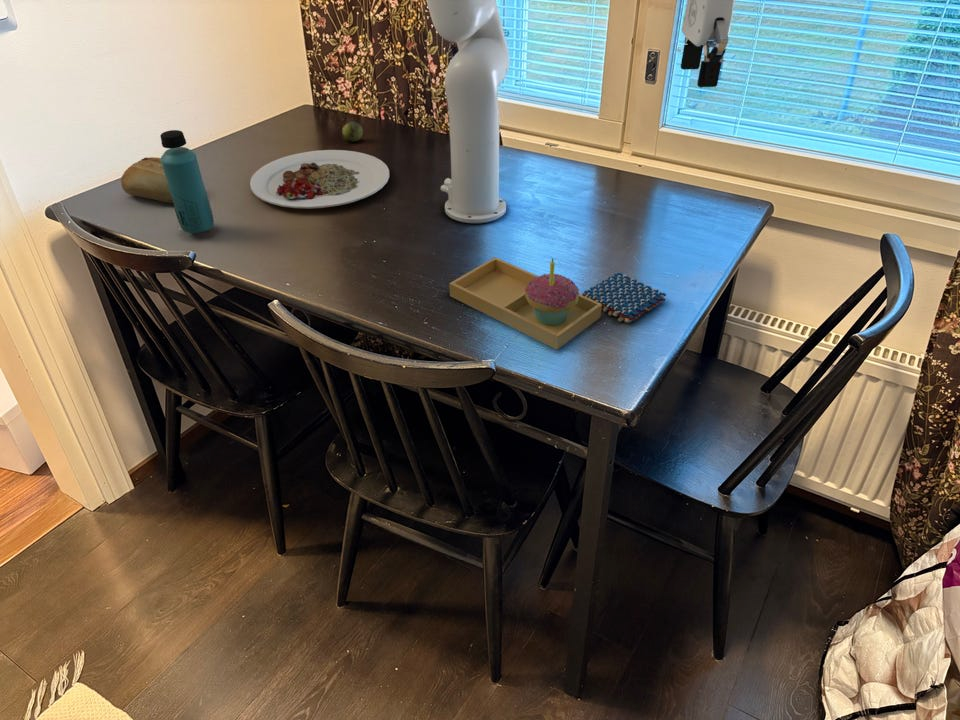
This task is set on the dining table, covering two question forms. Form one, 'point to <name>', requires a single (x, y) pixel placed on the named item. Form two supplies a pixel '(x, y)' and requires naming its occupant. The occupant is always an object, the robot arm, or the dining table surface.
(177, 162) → the beverage bottle
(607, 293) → the woven mat
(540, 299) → the cupcake
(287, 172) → the plated food
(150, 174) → the bread roll
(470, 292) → the divided tray
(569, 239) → the dining table surface
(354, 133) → the lime
